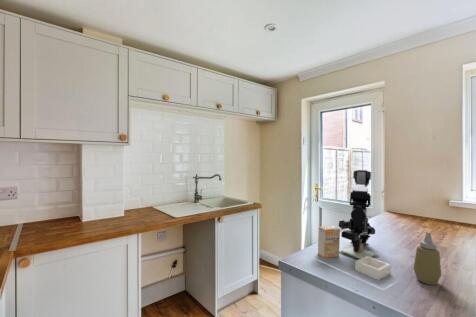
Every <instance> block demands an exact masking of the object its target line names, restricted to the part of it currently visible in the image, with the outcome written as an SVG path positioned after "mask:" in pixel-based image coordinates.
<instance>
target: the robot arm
mask: <svg viewBox="0 0 476 317" xmlns="http://www.w3.org/2000/svg"><path fill="white" fill-rule="evenodd" d="M352 174H353V175H352V178H353V179H354V184H355V186H353V187H352V191H350V198H349V206H352V210H351V213H350V217H351V218H350V219H349V220H344V219H343V220H339V221H338V228H340V230H343V231H340V238H344V239H347V240H350V241H351V242H350V244H351V245H352V246H353V247H354V250H355V252H358V250H359V247H360V244H361V243H363V248H364V247H367V246H369V245H370V243H368V240H369V239H370V238H371V235H376V229H375V227H374V226H373V227H372V226H371V224H370V222H369V219H368V217H367V208H370V206H371V204H372V200H371V197H372V196H371V193H370V192H369V190H368V189H369V188H367V187H368V186H369V185H370V181H371V180H372V178H371V177H372V171H369V170H367V169H356V170H353V173H352Z"/></svg>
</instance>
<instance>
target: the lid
mask: <svg viewBox="0 0 476 317" xmlns="http://www.w3.org/2000/svg"><path fill="white" fill-rule="evenodd" d="M341 251H342V252H343V253H345V254H348V255H351V256H353V257H356V258H358V259H361V258H364V257H366V256H369V257H372V256H374V255H376V254H375V252H372V251H371V250H370V251H369V250H366V249H364V247H363V243H361V244H360V247H359V250H358V252H355V250H354V247H353V245H352V246H350V247H347V248H344V249H342V250H341Z"/></svg>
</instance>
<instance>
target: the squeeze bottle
mask: <svg viewBox="0 0 476 317" xmlns="http://www.w3.org/2000/svg"><path fill="white" fill-rule="evenodd" d="M440 256H441V254H440V251H439V249H437V244H436V242H433V238H432V234H431V232H428V231H427V232H425V236H424V238H423V240H420V241H419V245H418V246H416V251H415V256H414V263H413V271H414V274H415V278H416V280H418V281H419V282H421V283H423V284H426V285H433V286H434V285H437V284H438V283H439V281H440V278H441V277H442V268H441V267H442V266H441V257H440Z"/></svg>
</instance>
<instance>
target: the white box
mask: <svg viewBox="0 0 476 317" xmlns="http://www.w3.org/2000/svg"><path fill="white" fill-rule="evenodd" d="M354 268H355V271H356V272H359V273H361V274H364V275H366V276H368V277H371V278H373V279H375V280H378V281H381V280H383V279H384V278H386V277H388V276H389V275H391V273H392V272H391V268H392V265H391V263H388V262H385V261H382V260H380V259H378V258H376V259H374V258H372V257H369V256H366V257H364V258H361V259H359V260H355V267H354Z"/></svg>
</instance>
